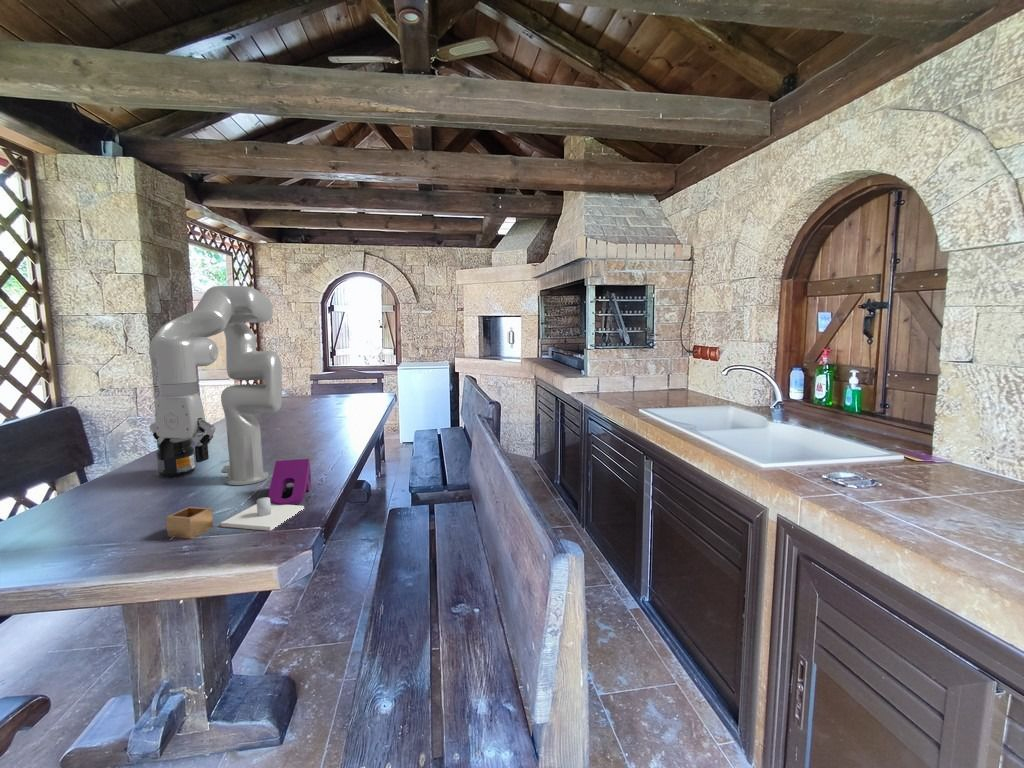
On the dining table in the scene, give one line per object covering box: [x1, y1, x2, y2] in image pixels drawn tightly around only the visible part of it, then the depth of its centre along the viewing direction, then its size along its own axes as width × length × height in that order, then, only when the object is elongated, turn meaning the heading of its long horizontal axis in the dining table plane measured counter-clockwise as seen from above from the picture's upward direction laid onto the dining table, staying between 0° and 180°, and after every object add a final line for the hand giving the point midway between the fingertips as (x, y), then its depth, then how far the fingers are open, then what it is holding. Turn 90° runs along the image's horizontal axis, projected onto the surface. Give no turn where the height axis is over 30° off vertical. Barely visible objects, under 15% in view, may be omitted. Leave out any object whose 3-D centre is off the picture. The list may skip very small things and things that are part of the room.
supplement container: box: [155, 438, 196, 479], centre depth 163 cm, size 10×10×12 cm
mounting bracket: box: [268, 458, 312, 505], centre depth 142 cm, size 9×8×18 cm
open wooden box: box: [165, 506, 214, 539], centre depth 118 cm, size 7×7×5 cm
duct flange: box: [220, 496, 305, 532], centre depth 127 cm, size 14×14×5 cm
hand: (185, 459), depth 116 cm, fingers open, 9 cm apart
